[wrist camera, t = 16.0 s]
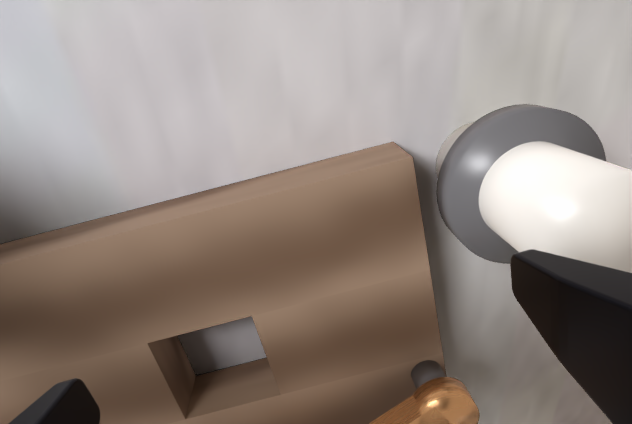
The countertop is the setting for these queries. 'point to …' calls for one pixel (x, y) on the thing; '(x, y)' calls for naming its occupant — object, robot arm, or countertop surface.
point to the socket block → (233, 300)
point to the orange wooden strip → (434, 405)
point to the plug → (535, 188)
